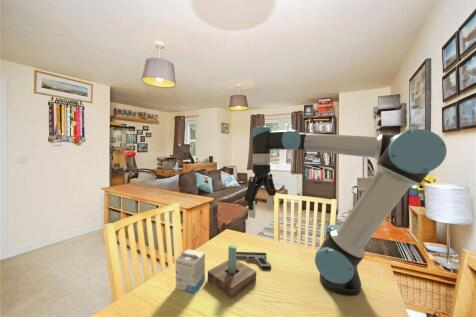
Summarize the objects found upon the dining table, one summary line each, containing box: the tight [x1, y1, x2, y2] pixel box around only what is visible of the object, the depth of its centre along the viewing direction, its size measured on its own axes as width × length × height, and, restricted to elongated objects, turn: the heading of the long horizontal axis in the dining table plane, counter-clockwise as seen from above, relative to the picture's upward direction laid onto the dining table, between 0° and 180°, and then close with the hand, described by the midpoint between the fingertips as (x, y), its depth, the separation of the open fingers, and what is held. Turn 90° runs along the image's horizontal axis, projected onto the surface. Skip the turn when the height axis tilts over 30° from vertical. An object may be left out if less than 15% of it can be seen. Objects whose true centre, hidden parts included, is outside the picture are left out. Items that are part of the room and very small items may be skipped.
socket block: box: [207, 259, 257, 299], centre depth 83 cm, size 14×14×4 cm
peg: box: [227, 244, 237, 276], centre depth 83 cm, size 3×3×14 cm
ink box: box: [174, 248, 206, 294], centre depth 80 cm, size 9×8×13 cm
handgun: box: [236, 251, 272, 271], centre depth 97 cm, size 2×17×12 cm
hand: (261, 213), depth 87 cm, fingers open, 13 cm apart
